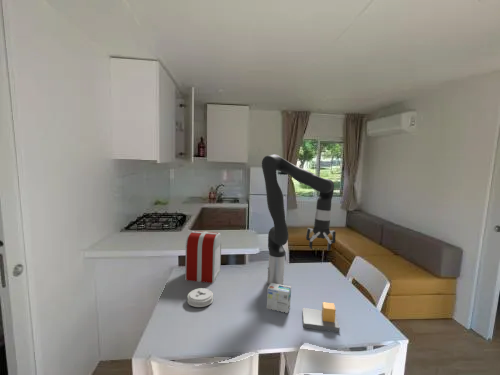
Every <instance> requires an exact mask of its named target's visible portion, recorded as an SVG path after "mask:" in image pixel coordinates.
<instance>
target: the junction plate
mask: <svg viewBox="0 0 500 375" xmlns="http://www.w3.org/2000/svg"><path fill="white" fill-rule="evenodd" d="M301 312H303V313H302V323H303V326H304V327H303V326H302V327H303V328H304V329H311V330H319V331H326V332H334V333H335V332H336V333H340V331H341V329H340V327H341V326H340V324H339V321H338V318H337V314H336V313H335V322H328V321H323V319H322V309H315V308H309V307H308V308H307V307H302V310H301Z"/></svg>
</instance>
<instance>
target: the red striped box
mask: <svg viewBox="0 0 500 375" xmlns="http://www.w3.org/2000/svg"><path fill="white" fill-rule="evenodd" d="M221 260H222V235H221V233H220V232H213V231H205V230H204V231H201V230H199V231H197V230H192V231H191V232H190V233H188V235H187V237H186V242H185V266H184V267H185V268H184V269H185V270H184V273H185V276H184V280H185V281H190V282H191V281H192V282H197V283H198V282H199V283H210V284H214V283H215V281H216V280H217V278H218V277H219V275H220V273H221V269H222V268H221V265H222V264H221Z"/></svg>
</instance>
